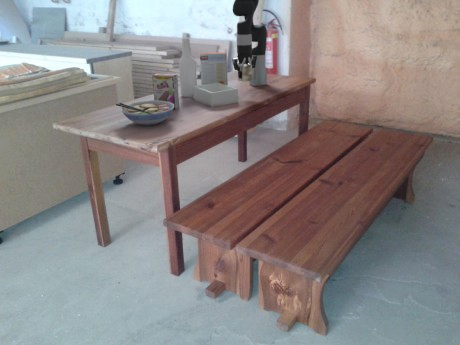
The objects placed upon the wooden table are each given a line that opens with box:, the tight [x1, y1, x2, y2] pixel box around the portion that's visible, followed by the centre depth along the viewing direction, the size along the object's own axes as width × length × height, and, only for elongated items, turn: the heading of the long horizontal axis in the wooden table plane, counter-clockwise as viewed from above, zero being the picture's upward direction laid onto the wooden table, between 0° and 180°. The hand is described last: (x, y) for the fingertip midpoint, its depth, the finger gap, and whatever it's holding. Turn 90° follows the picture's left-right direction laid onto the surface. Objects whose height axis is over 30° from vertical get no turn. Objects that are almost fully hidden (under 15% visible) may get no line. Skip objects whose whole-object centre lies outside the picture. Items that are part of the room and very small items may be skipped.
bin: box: [192, 83, 239, 108], centre depth 230 cm, size 15×19×7 cm
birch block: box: [237, 64, 252, 83], centre depth 232 cm, size 5×5×7 cm
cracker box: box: [199, 51, 229, 86], centre depth 248 cm, size 14×6×21 cm, turn 84°
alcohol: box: [178, 37, 198, 98], centre depth 238 cm, size 9×9×30 cm
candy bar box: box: [152, 73, 180, 111], centre depth 217 cm, size 11×5×16 cm, turn 71°
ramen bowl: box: [115, 99, 174, 126], centre depth 196 cm, size 25×23×8 cm
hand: (245, 77), depth 233 cm, fingers closed on birch block, 5 cm apart
